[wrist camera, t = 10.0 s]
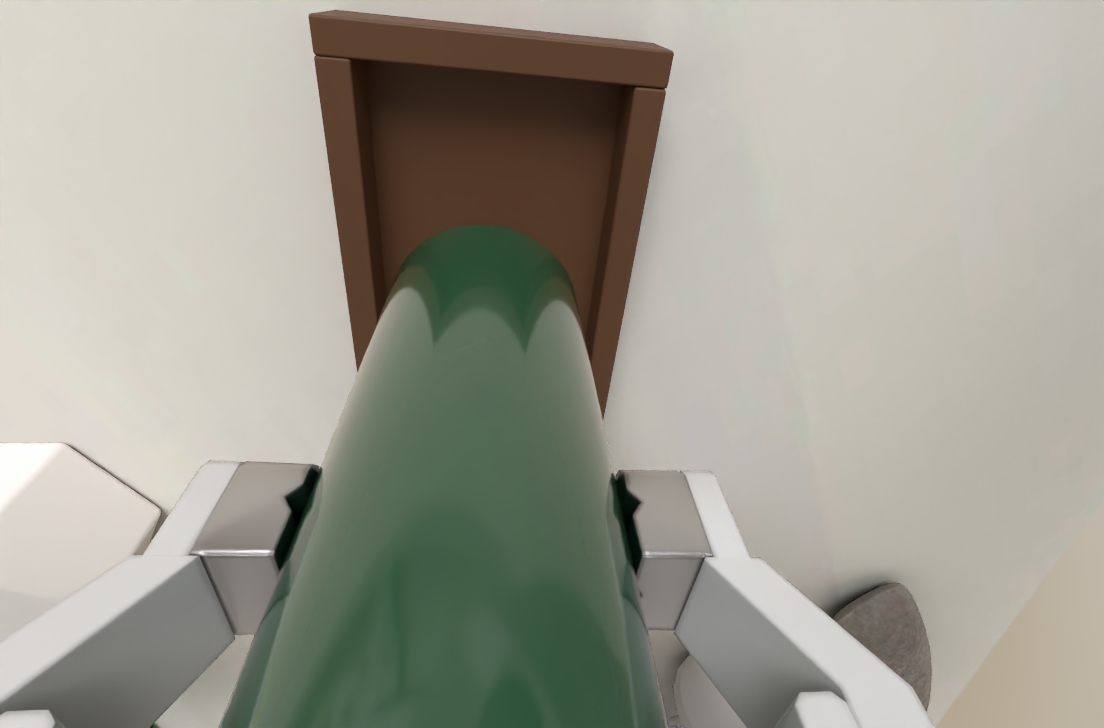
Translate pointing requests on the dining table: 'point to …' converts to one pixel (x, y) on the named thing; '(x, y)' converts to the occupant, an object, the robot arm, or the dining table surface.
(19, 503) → the jar
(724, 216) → the dining table surface
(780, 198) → the dining table surface
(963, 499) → the dining table surface
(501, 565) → the bottle
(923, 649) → the stone tool
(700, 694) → the figurine
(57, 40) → the dining table surface
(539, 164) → the tray
